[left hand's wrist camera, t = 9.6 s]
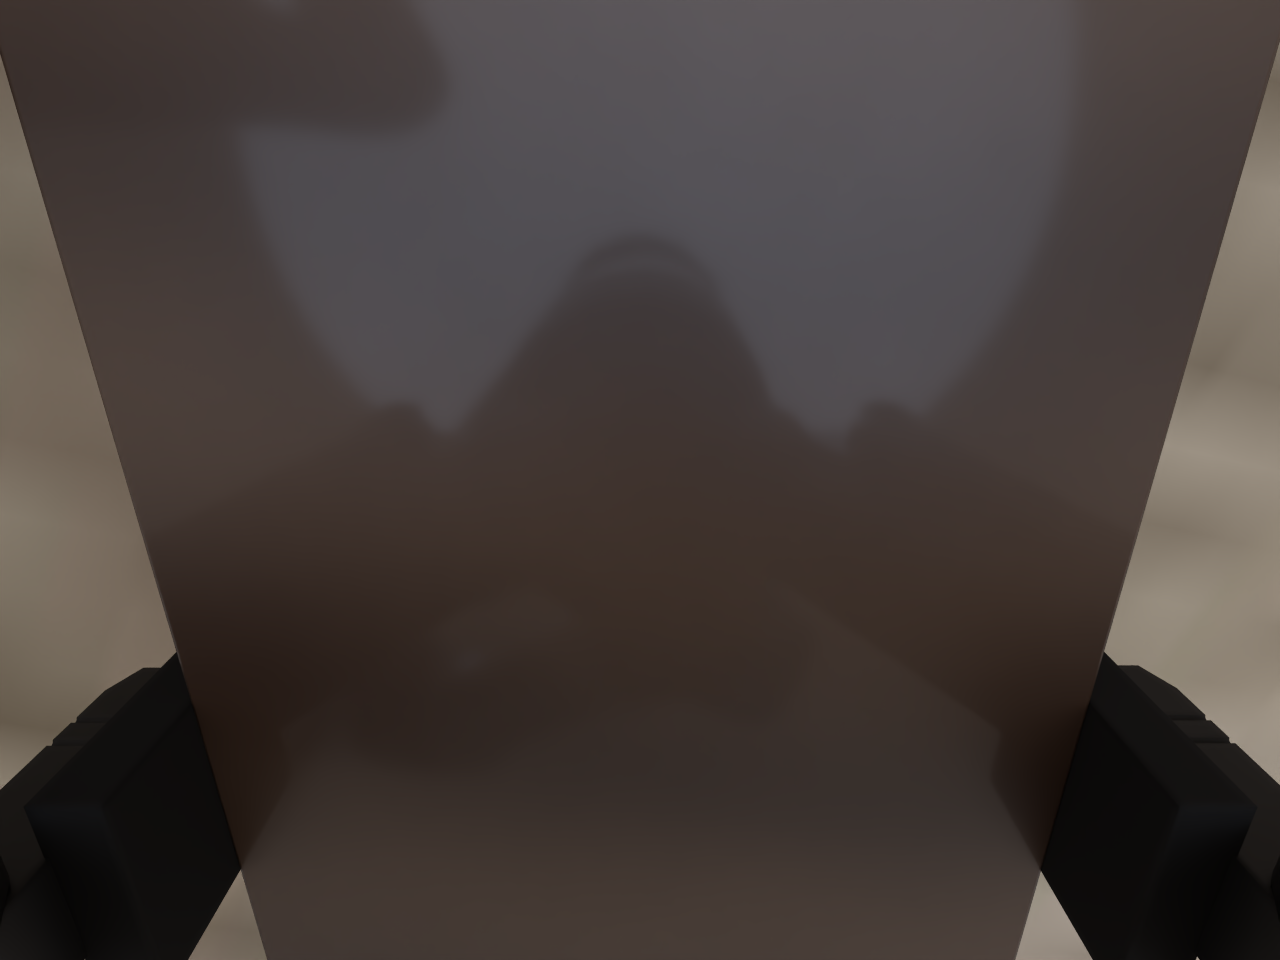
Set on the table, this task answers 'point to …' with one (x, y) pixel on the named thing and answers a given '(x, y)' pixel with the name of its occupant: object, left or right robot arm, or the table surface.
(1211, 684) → the table surface
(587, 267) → the small wooden cabinet
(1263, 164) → the table surface
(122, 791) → the left robot arm
